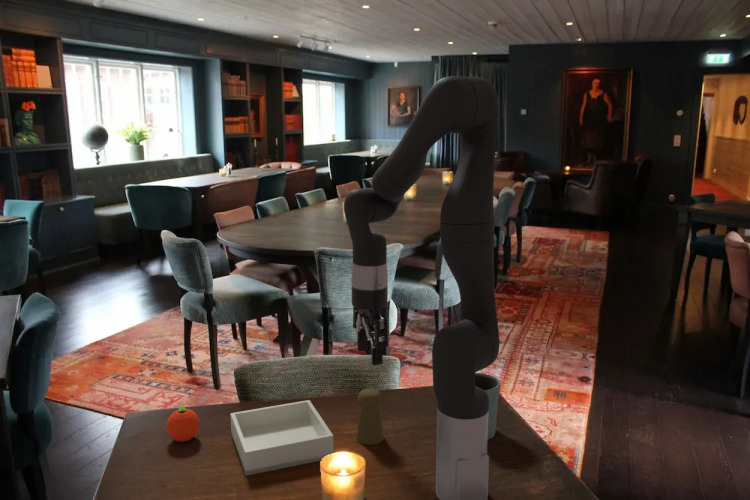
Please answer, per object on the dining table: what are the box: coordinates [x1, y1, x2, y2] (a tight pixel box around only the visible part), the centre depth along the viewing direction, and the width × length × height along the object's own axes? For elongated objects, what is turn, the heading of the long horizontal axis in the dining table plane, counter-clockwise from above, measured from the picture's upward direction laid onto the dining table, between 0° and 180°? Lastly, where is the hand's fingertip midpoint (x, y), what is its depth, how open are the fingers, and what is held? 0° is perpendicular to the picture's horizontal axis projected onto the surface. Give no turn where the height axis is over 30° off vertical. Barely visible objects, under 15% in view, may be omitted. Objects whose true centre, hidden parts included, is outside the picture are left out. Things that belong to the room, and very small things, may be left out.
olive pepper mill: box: [355, 388, 385, 446], centre depth 137 cm, size 6×6×11 cm
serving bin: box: [230, 399, 335, 477], centre depth 134 cm, size 18×18×5 cm
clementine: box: [166, 406, 201, 442], centre depth 137 cm, size 8×7×7 cm
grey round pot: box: [475, 372, 501, 441], centre depth 139 cm, size 10×10×12 cm
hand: (369, 357), depth 134 cm, fingers open, 8 cm apart
